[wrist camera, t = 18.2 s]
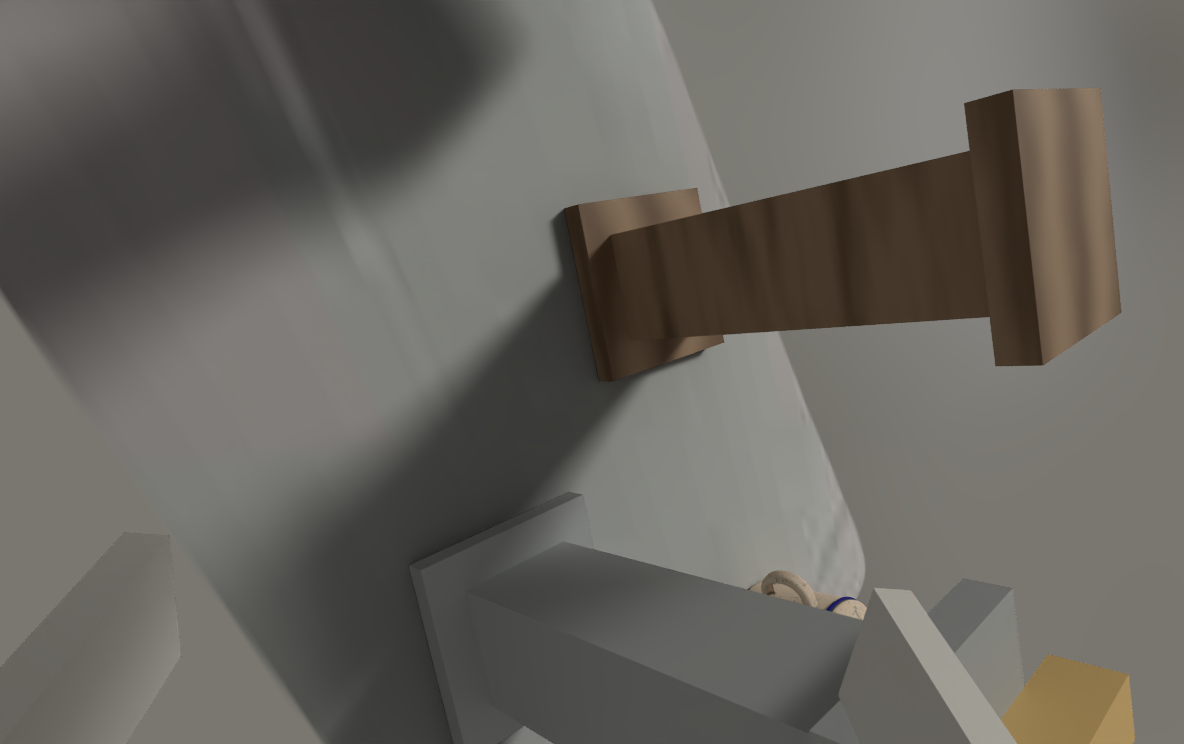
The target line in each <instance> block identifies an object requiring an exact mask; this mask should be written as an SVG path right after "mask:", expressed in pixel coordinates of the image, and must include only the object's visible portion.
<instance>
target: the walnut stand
mask: <svg viewBox="0 0 1184 744" xmlns="http://www.w3.org/2000/svg"><path fill="white" fill-rule="evenodd" d="M964 106H965V115H966V123H967V131H968V140H969V148H970V151H967V152H963V153H958V154H954V155H950V156H946V157H942V158H937V159H933V160H929V161H925V162H920V163H916V164H912V165H907V166H903V167H899V168H895V169H890V170H886V171H882V172H877V173H873V174H869V175H864V176H860V177H856V178H852V179H847V180H843V181H839V182H835V183H830V184H826V185H822V186H817V187H813V188H809V189H805V190H801V191H796V192H792V193H788V194H783V195H779V196H775V197H770V198H766V199H762V200H758V201H753V202H749V203H745V204H740V205H736V206H732V207H728V208H723V209H719V210H715V211H711V212H706V213H701V207H700V201H699V196H698V190H697V188H693V189H686V190H678V191H671V192H664V193H657V194H650V195H642V196H635V197H628V198H621V199H614V200H607V201H599V202H592V203H585V204H578V205H575V206H571V207H568V208H565V214H566V219H567V224H568V229H569V234H570V239H571V244H572V249H573V254H574V259H575V264H576V269H577V274H578V279H579V284H580V289H581V293H582V298H583V303H584V308H585V313H586V318H587V323H588V328H589V333H590V338H591V343H592V348H593V353H594V358H595V363H596V368H597V373H598V378H599V381H616V380H619V379H622V378H624V377H627V376H630V375H633V374H636V373H639V372H641V371H644V370H647V369H650V368H653V367H656V366H658V365H661V364H664V363H667V362H670V361H673V360H676V359H678V358H681V357H684V356H687V355H690V354H693V353H695V352H698V351H701V350H704V349H707V348H710V347H712V346H715V345H718V344H721V343H724V339H723V335H726V334H741V333H756V332H771V331H786V330H801V329H816V328H831V327H845V326H861V325H876V324H889V323H890V324H891V323H906V322H920V321H935V320H950V319H965V318H980V317H990V324H991V332H992V341H993V349H994V357H995V366H1033V365H1044V364H1046V363H1047V362H1049V361H1050V360H1052V359H1053V358H1055V357H1056V356H1058V355H1059V354H1061V353H1062V352H1064V351H1065V350H1066V349H1068V348H1070V347H1071V346H1072V345H1074V344H1075V343H1077V342H1078V341H1080V340H1081V339H1083V338H1084V337H1086V336H1087V335H1089V334H1090V333H1092V332H1093V331H1095V330H1096V329H1098V328H1099V327H1101V326H1102V325H1104V324H1105V323H1107V322H1108V321H1109V320H1111V319H1113V318H1114V317H1115V316H1117V315H1118V314H1120V313H1121V304H1120V294H1119V282H1118V271H1117V261H1116V249H1115V238H1114V228H1113V217H1112V206H1111V196H1110V184H1109V174H1108V163H1107V152H1106V142H1105V131H1104V119H1103V109H1102V98H1101V88H1071V89H1070V88H1069V89H1022V90H1021V89H1020V90H1010V91H1006V92H1003V93H999V94H996V95H992V96H988V97H985V98H982V99H978V100H974V101H971V102H967V103H964Z"/></svg>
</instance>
